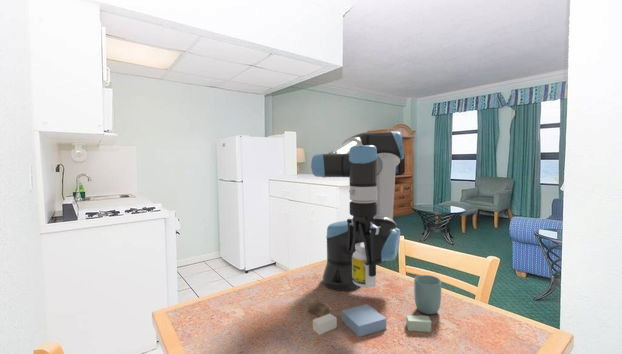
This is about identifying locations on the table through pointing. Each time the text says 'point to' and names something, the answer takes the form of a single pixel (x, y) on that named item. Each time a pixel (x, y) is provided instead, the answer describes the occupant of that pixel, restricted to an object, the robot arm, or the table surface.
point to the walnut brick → (318, 308)
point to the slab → (363, 320)
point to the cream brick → (324, 323)
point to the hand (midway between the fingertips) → (363, 281)
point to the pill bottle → (359, 264)
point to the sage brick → (418, 323)
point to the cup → (427, 293)
